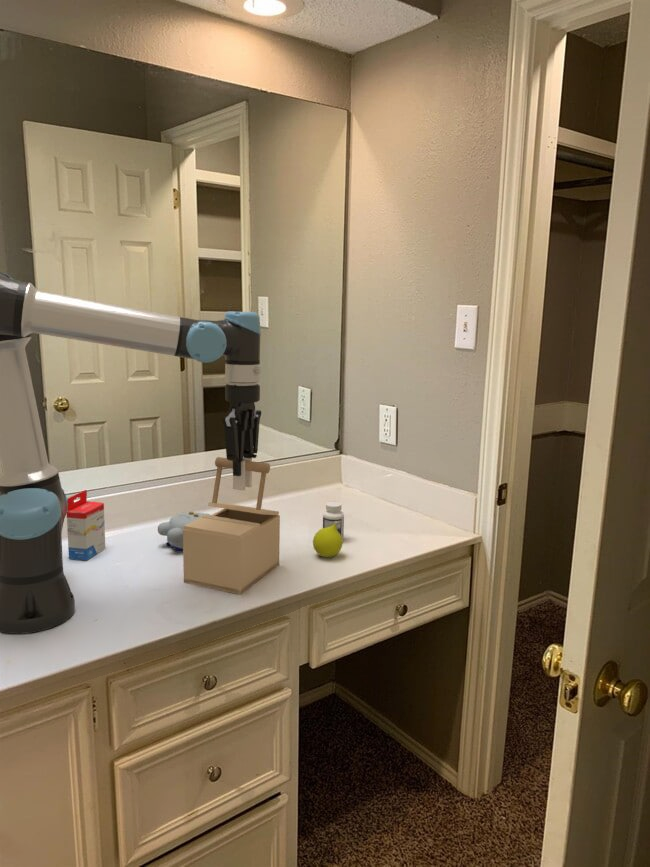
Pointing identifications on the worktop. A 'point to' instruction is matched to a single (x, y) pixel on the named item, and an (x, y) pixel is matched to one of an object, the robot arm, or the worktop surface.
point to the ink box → (85, 527)
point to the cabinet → (230, 549)
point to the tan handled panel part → (249, 466)
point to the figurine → (177, 528)
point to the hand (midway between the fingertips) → (242, 487)
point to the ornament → (328, 541)
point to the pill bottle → (334, 517)
